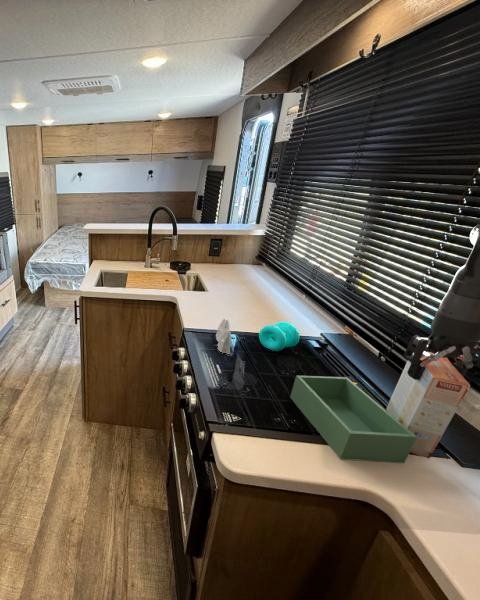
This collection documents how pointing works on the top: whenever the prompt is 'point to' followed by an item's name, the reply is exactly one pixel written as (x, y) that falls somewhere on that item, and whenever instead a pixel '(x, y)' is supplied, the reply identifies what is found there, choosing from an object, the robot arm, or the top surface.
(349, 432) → the tote
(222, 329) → the grey jagged slab
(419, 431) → the cracker box
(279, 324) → the donuts
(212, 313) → the top surface
